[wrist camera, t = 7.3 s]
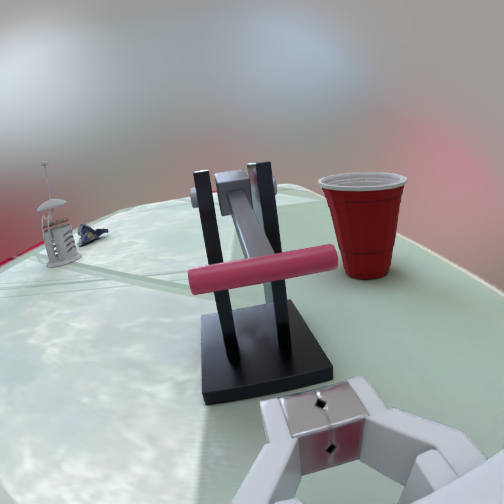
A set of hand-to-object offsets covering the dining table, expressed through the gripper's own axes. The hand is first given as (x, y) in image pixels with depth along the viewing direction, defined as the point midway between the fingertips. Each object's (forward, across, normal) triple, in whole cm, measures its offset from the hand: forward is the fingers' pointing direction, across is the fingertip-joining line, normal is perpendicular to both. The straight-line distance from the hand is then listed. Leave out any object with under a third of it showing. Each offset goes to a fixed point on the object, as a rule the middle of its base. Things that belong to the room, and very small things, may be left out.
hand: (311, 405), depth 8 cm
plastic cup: (+28, -16, +9) cm, 33 cm away
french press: (+65, +40, +9) cm, 77 cm away
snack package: (+87, +40, +9) cm, 96 cm away
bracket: (+16, 0, +8) cm, 18 cm away
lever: (+12, 0, -2) cm, 12 cm away
